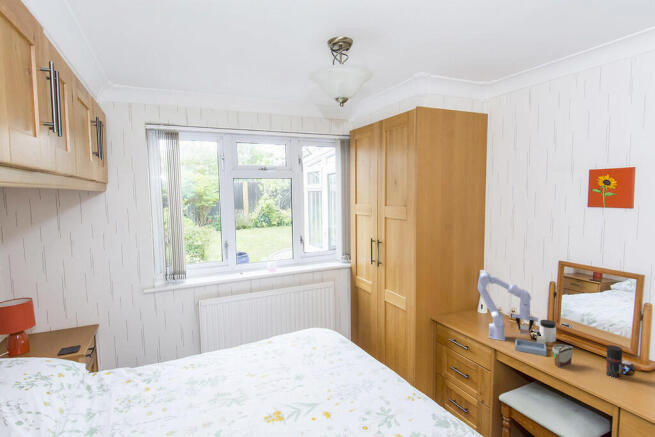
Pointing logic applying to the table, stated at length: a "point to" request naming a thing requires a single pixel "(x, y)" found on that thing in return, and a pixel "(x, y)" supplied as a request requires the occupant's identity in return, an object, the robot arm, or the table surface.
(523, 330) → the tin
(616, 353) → the deodorant
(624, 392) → the table surface
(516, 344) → the tote
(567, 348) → the food container
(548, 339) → the jar
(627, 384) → the table surface
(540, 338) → the white cube
